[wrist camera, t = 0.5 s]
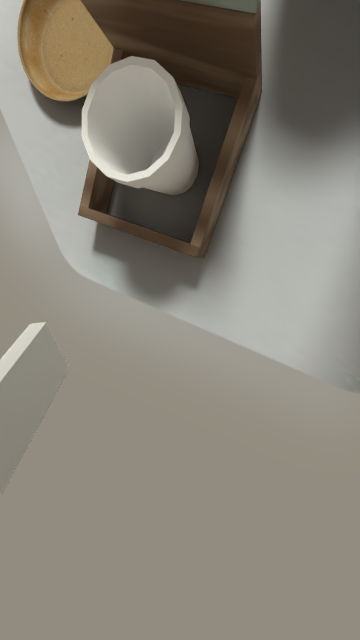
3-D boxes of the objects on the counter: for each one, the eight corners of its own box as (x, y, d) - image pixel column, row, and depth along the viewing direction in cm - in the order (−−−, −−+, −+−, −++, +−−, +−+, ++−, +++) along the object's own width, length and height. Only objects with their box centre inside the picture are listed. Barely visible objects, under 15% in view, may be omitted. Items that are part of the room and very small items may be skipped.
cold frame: (146, 10, 34) (-214, -752, 8) (281, 35, 31) (361, -1062, 5) (97, 219, 41) (-184, 148, 15) (203, 257, 38) (75, 248, 12)
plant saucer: (74, 136, 40) (61, 127, 37) (14, 48, 40) (-3, 34, 37) (153, 45, 35) (145, 28, 32) (85, -56, 35) (71, -80, 32)
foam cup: (127, 174, 38) (63, 132, 26) (172, 110, 35) (123, 30, 23) (176, 223, 38) (134, 204, 26) (226, 162, 35) (206, 108, 22)
